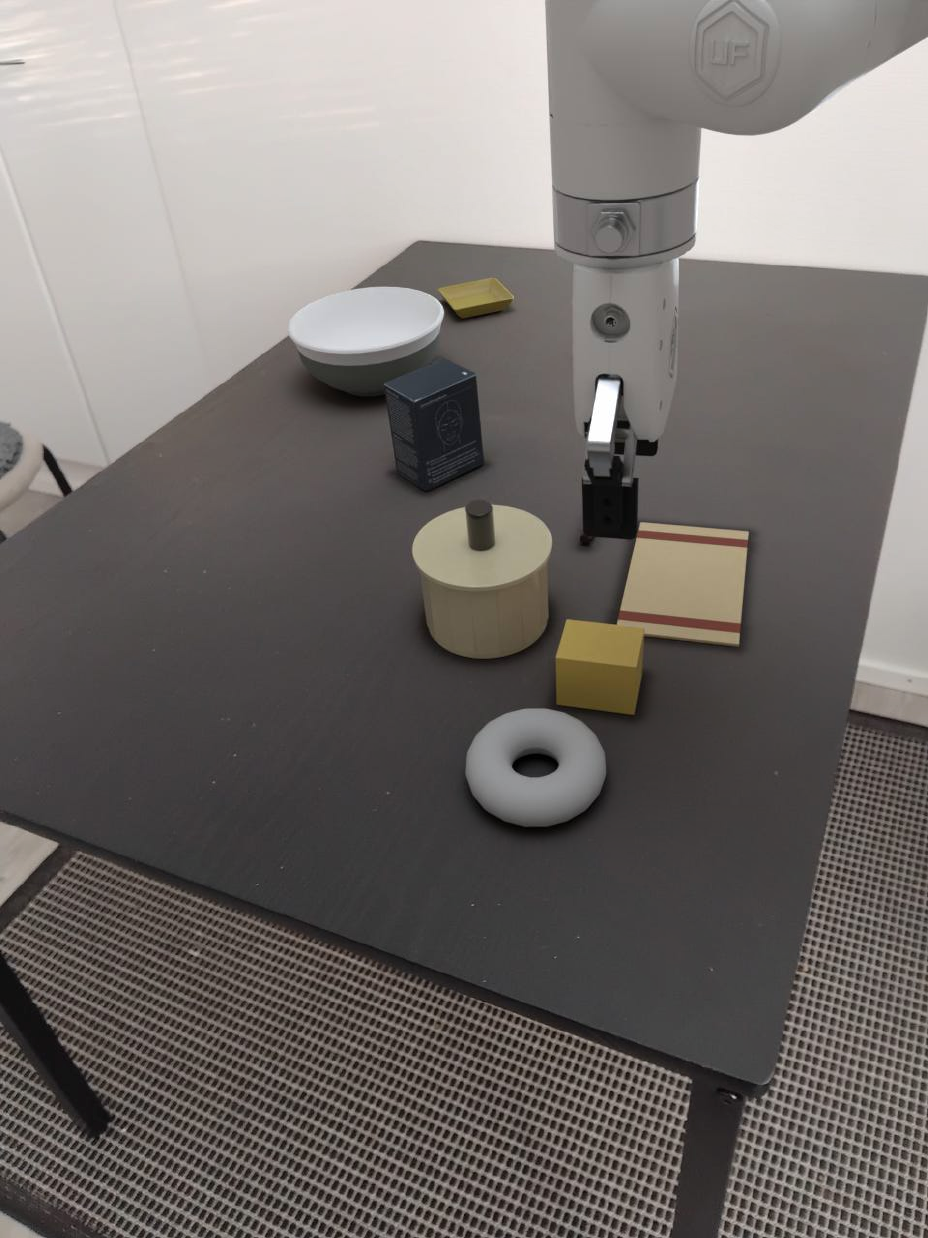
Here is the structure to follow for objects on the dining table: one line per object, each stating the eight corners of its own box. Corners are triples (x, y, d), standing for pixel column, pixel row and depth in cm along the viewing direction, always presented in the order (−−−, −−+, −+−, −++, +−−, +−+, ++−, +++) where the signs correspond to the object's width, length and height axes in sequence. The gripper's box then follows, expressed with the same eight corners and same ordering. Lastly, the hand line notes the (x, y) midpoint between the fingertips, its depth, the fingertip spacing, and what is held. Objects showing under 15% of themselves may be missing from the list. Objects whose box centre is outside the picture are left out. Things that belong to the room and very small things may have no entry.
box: (453, 446, 107) (445, 355, 101) (485, 465, 104) (478, 373, 97) (394, 472, 104) (381, 381, 97) (425, 493, 100) (413, 400, 94)
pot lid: (548, 510, 84) (546, 464, 81) (557, 593, 75) (556, 545, 72) (416, 519, 85) (410, 473, 82) (410, 602, 76) (403, 554, 73)
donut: (635, 781, 70) (535, 709, 76) (637, 748, 67) (534, 677, 73) (536, 864, 65) (437, 781, 71) (535, 832, 63) (433, 749, 69)
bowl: (412, 425, 112) (404, 357, 106) (271, 407, 118) (257, 342, 112) (472, 354, 125) (467, 291, 119) (342, 341, 131) (332, 280, 125)
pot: (544, 577, 88) (542, 508, 83) (552, 655, 80) (550, 583, 75) (429, 584, 89) (421, 516, 84) (425, 662, 81) (416, 591, 76)
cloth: (748, 533, 91) (748, 531, 91) (738, 647, 79) (739, 644, 79) (640, 524, 93) (640, 521, 93) (615, 632, 82) (615, 629, 82)
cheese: (641, 675, 78) (644, 627, 74) (634, 715, 74) (636, 667, 71) (567, 666, 79) (566, 618, 76) (556, 705, 76) (555, 657, 73)
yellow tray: (437, 301, 139) (436, 287, 137) (495, 290, 140) (494, 275, 139) (455, 324, 132) (454, 309, 131) (515, 312, 134) (515, 297, 132)
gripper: (678, 277, 44) (665, 578, 55) (711, 166, 57) (695, 428, 68) (517, 276, 46) (535, 567, 57) (583, 169, 59) (588, 423, 70)
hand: (622, 491), depth 62 cm, fingers open, 9 cm apart
